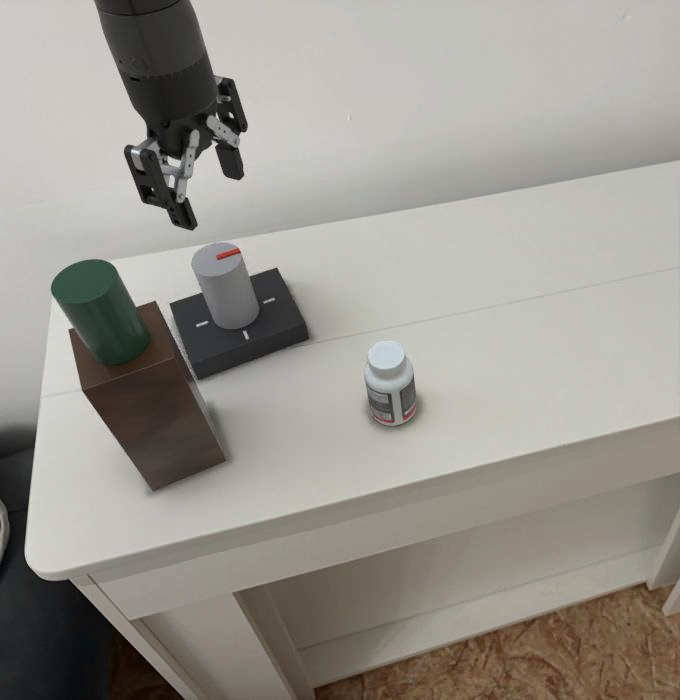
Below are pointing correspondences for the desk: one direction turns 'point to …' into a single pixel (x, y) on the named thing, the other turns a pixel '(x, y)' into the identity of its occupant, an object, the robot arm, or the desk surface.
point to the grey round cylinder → (225, 285)
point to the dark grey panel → (244, 343)
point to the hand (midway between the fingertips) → (211, 201)
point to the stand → (152, 406)
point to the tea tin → (101, 311)
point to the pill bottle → (390, 383)
